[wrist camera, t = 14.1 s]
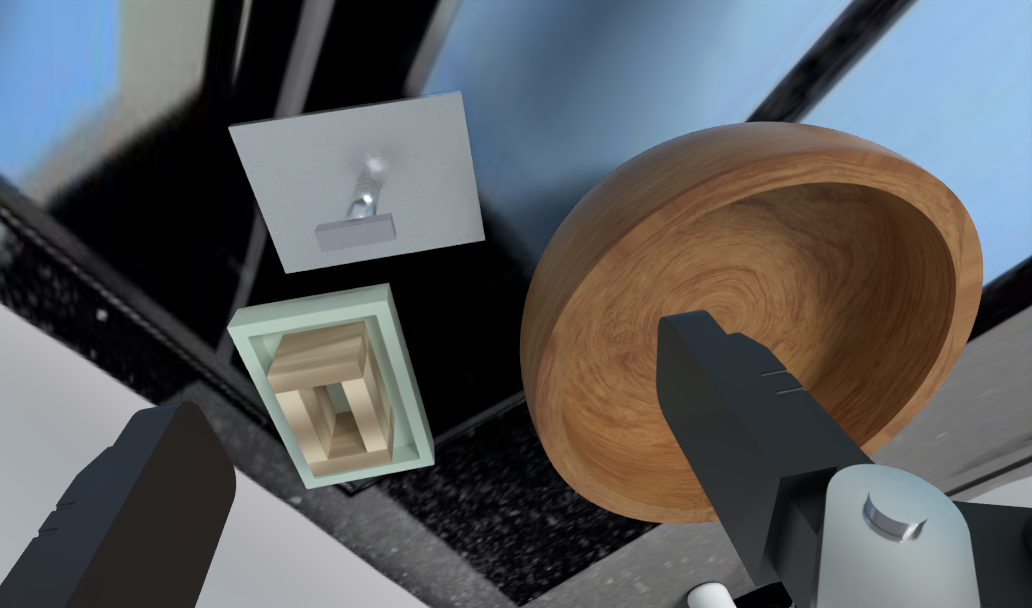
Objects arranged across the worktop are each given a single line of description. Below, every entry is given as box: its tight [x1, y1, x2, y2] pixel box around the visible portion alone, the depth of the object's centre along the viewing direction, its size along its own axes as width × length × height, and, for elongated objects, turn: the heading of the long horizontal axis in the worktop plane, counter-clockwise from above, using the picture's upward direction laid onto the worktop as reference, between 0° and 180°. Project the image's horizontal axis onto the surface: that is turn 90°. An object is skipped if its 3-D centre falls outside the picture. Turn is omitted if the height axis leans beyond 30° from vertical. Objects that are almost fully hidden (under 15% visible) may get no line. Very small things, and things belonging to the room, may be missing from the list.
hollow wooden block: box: [267, 321, 395, 477], centre depth 41 cm, size 12×6×5 cm, turn 6°
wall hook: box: [228, 90, 485, 273], centre depth 32 cm, size 14×10×8 cm
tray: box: [227, 283, 434, 489], centre depth 43 cm, size 11×17×2 cm, turn 7°
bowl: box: [520, 122, 983, 524], centre depth 35 cm, size 25×25×15 cm
